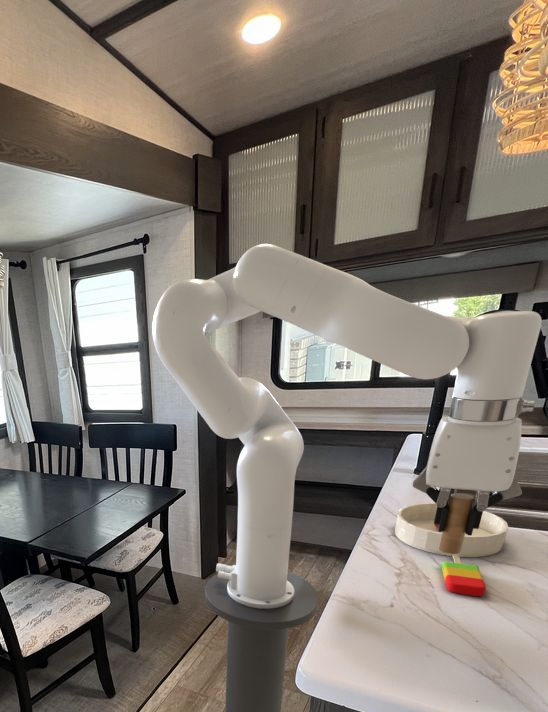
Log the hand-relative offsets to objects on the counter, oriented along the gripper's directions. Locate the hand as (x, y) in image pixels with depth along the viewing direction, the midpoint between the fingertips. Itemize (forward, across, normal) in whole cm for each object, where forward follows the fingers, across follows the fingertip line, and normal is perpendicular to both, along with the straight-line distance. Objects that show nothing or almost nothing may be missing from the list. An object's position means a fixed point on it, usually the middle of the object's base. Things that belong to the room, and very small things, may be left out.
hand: (454, 529), depth 72 cm
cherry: (+13, -1, -37) cm, 40 cm away
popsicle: (+16, -4, -16) cm, 22 cm away
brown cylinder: (+4, 0, 0) cm, 4 cm away
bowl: (+15, -2, -34) cm, 37 cm away
